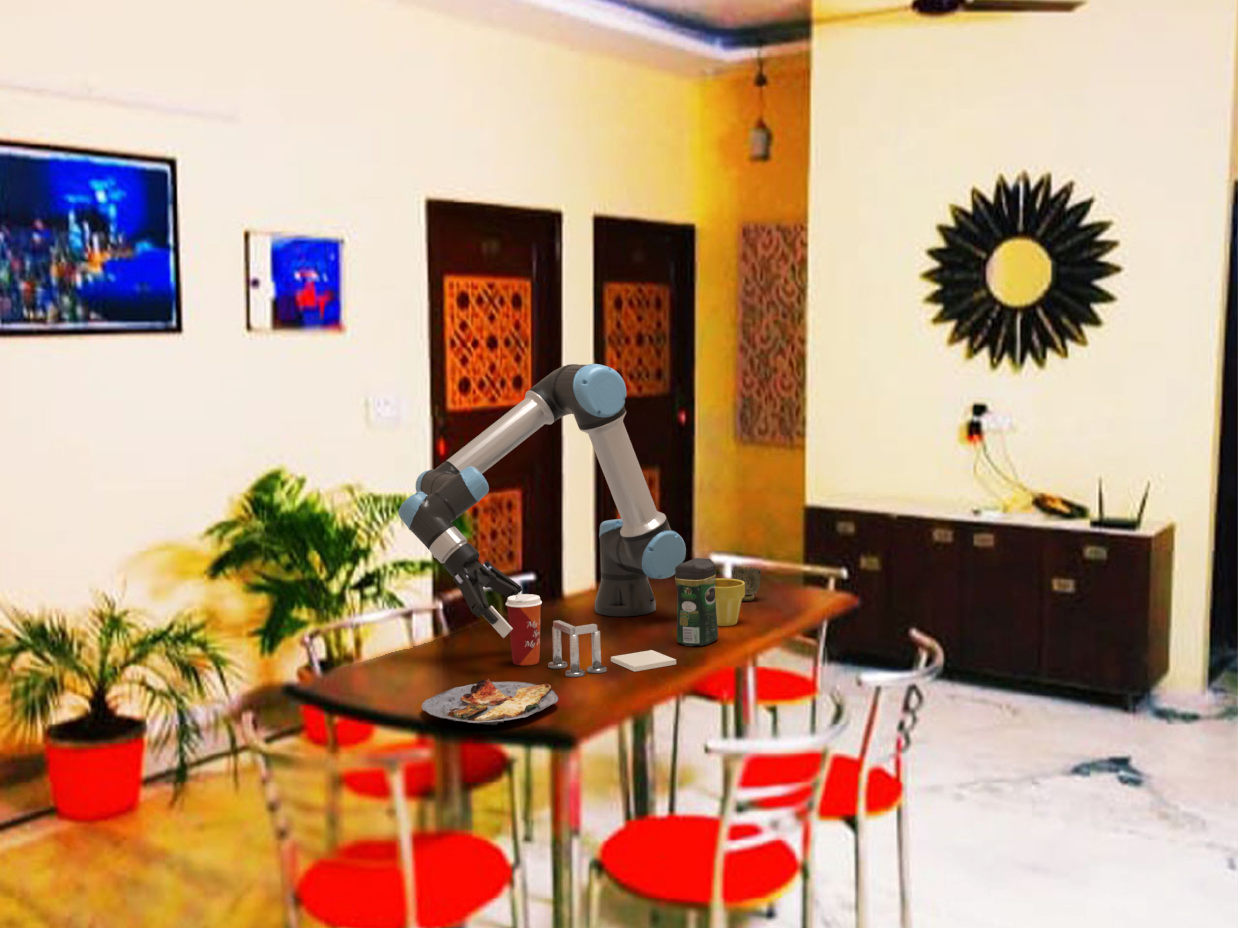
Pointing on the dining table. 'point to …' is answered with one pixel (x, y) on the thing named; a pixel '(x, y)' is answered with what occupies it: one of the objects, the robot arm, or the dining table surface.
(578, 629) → the bent rail
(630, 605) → the robot arm
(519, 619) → the paper cup
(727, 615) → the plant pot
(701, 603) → the coffee jar
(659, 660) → the cream tile
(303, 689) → the dining table surface
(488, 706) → the food plate
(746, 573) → the cup
